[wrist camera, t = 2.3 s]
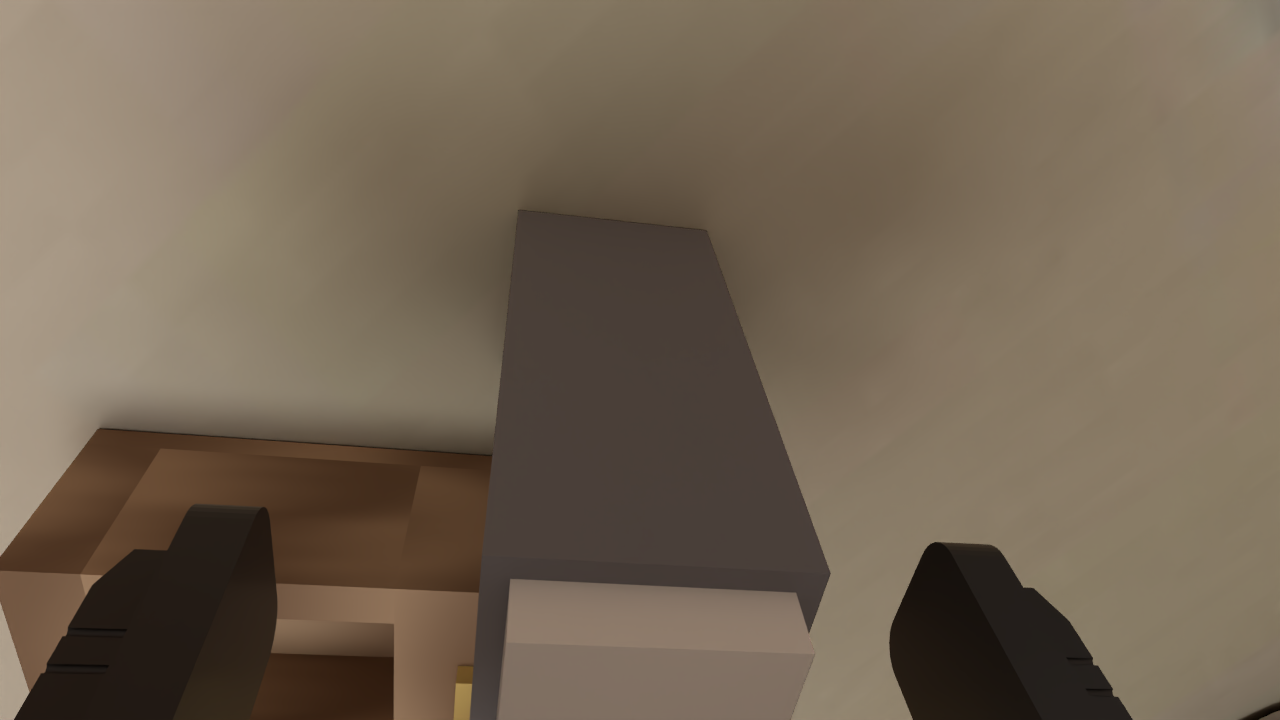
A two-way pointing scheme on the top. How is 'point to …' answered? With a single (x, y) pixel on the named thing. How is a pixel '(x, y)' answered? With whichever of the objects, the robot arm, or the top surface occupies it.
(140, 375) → the top surface
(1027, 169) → the top surface
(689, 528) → the plug
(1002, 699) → the robot arm
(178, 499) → the board
